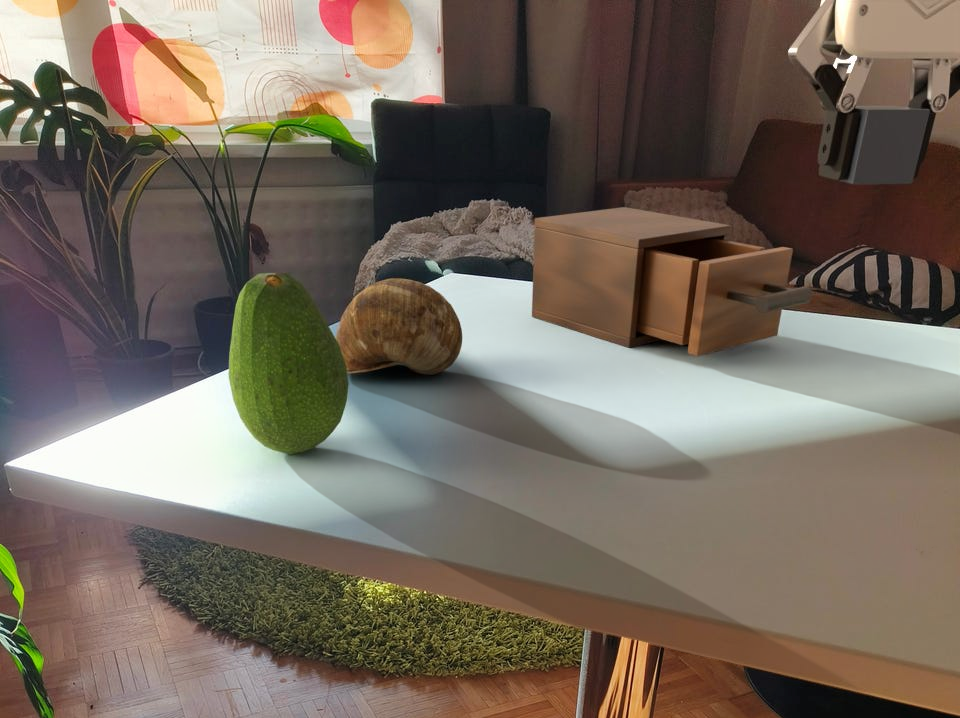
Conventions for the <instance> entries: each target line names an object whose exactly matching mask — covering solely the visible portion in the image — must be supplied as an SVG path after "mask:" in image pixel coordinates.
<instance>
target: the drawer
mask: <svg viewBox="0 0 960 718" xmlns="http://www.w3.org/2000/svg"><path fill="white" fill-rule="evenodd" d="M793 250H794V248H791V247H786V246H781V247H780V246H779V247H775V248H769V249H768V248H767V249H766V247H764V246H757V245H753V244H749V243H748V244H747V243H743V242H738V241H733V240H732V241H731V240H729V241H727V240H721V239H716V238H711V237H709V238H703V239H697V240H691V241H684V242H678V243H672V244H665V245H659V246H653V247H647V248H644V253H643V264H642V274H641V284H640V295H639V305H638V315H637V326H636V332H640V333H643V334H646V335H650V336H653V337H656V338H660V339H663V340H662V341H666V342H669V343H673V344H677V345H680V346H684V345H688V347H687V354H689V355H693V356H695V357H699V356H703V355H708V354H712V353H714V352H718V351H722V350H726V349H731V348H734V347H738V346H742V345H745V344H749V343H754V342H757V341H758V342H759V341H761V340H766V339H768V338H769V339H770V338H774V337H778V333H779V327H780V322H781V316H782V311H783V309H786V308H791V307H795V306H799V305H803V304H807V303H810V302H811V300H812V298H813V290H812V288H811V287H809V286H807V285H805V286H801V287H795V288H790V287H787V284H788V280H789V279H788V278H789V274H790V267H791V262H792V257H793V252H794V251H793Z"/></svg>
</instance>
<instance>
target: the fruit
mask: <svg viewBox="0 0 960 718" xmlns="http://www.w3.org/2000/svg"><path fill="white" fill-rule="evenodd" d="M233 315H234V316H233V322H232V329H231V330H232V331H231V338H230V345H229V352H228V353H229V354H228V355H229V356H228V381H229V386H230V390H231V396H232V400H233V403H234V405H235V408H236V411H237V412H238V417H239V419H240V420H241V421H242V423H243V425H244V426H245V428H246V429H247V430H248V432H249V433H250V434H251V435H252V437H253V438H254V439H255V440H256V441H257V442H259V443H260V444H261V445H262V446H264V447H265V448H268V449H270V450H272V451H275V452H279V453H282V454H287V455H292V454H297V453H302V452H307V451H309V450H311V449H314V448H316V447H317V446H319V445H320V444H322V443H324V442H325V441H326V440H327V439H328V438H329V437H330V436H331V434H332V433H333V432H334V431H335V429H336V428H337V427H338V426H339V424H340V423H341V421H342V418H343V415H344V412H345V409H346V406H347V401H348V395H349V394H348V393H349V377H348V373H347V368H346V363H345V360H344V357H343V355H342V352H341V349H340V346H339V344H338V342H337V340H336V336H335V335H334V333H333V332H332V330H331V328H330V327H329V325H328V323H327V321H326V319H325V318H324V316H323V314H322V313H321V311H320V309H319V308H318V306H317V305H316V303H315V300H314V299H313V298H312V296H311V295H310V293H309V291H308V290H307V288H305V286H304V285H303V284H302V283H301V281H299V280H297V279H296V278H295V277H293V276H292V275H290V274H289V273H285V272H264V273H262V272H261V273H257V274H256V275H255V276H253V277H252V278H250V279H249V280H248V281H247V282H246V283H245V284H244V286H243V287H242V289H241V290H240V292H239V294H238V297H237V301H236V303H235V308H234V314H233Z"/></svg>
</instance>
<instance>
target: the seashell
mask: <svg viewBox="0 0 960 718" xmlns="http://www.w3.org/2000/svg"><path fill="white" fill-rule="evenodd" d="M335 339H336V340H337V342H338V344H339V346H340V349H341V352H342V355H343V357H344V360H345V363H346V368H347V374H359V373H366V372H371V371H377V370H380V369H385V368H389V367H393V366H394V367H395V366H397V365H402V366H406V367H407V368H408V369H410V370H411V371H413V372H415V373H417V374H420V375H425V376H432V375H436V374H439V373H441V372H443V371H446V370H447V369H449V368H450V367H451V366H452V365H453V364H454V363H455V362H456V360H457V359H458V357H459V355H460V353H461V349H462V345H463V329H462V325H461V322H460V319H459V316H458V314H457V312H456V311H455V309H454V307H453V305H452V304H451V302H449V301H448V300H447V298H446V297H445V296H443V294H441V293H440V292H438V291H437V290H435V289H434V288H433V287H431V286H430V285H427V284H425V283H423V282H420V281H416V280H412V279H406V278H392V277H391V278H386V279H383V280H379V281H376V282H374V283H372V284H370V285H368V286H366V288H364V289H363V290H361V291H360V292H359V293H358V294H357V295H355V297H354V298H353V299H352V300H351V302H350V303H348V305H347V307H346V308H345V310H344V312H343V313H342V316H341V318H340V320H339V323H338V325H337V329H336V335H335Z"/></svg>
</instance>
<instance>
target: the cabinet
mask: <svg viewBox="0 0 960 718" xmlns="http://www.w3.org/2000/svg"><path fill="white" fill-rule="evenodd" d="M731 229H732V225H730V224H725V223H720V222H719V223H718V222H713V221H707V220H701V219H696V218H690V217H684V216H679V215H678V216H677V215H672V214H666V213H660V212H654V211H649V210H643V209H637V208H633V207H632V208H631V207H627V206H623V207H613V208H607V209H597V210H591V211H589V210H588V211H581V212H575V213H573V212H572V213H565V214H559V215H557V214H556V215H550V216H549V215H548V216H541V217H534V234H533V235H534V236H533V263H532V264H533V265H532V266H533V267H532V269H533V271H532V298H531V306H532V307H531V317H532V318H535V319H537V320H541V321H545V322H548V323H551V324H553V325H557V326H560V327H563V328H566V329H569V330H573V331H575V332H578V333H581V334H585V335H588V336H591V337H594V338H597V339H601V340H604V341H607V342H610V343H613V344H617V345H620V346H623V347H625V348H633V347H637V346H641V345H646V344H650V343H653V342H658V341H659V342H660V341H664V340H663V339H660V338H656V337H653V336H650V335H646V334H643V333H640V332H636V326H637V315H638V305H639V295H640V284H641V274H642V264H643V253H644V248H647V247H653V246H659V245H665V244H672V243H678V242H684V241H691V240H697V239H703V238H709V237H711V238H716V239H721V240H727V241H730V235H731Z"/></svg>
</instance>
